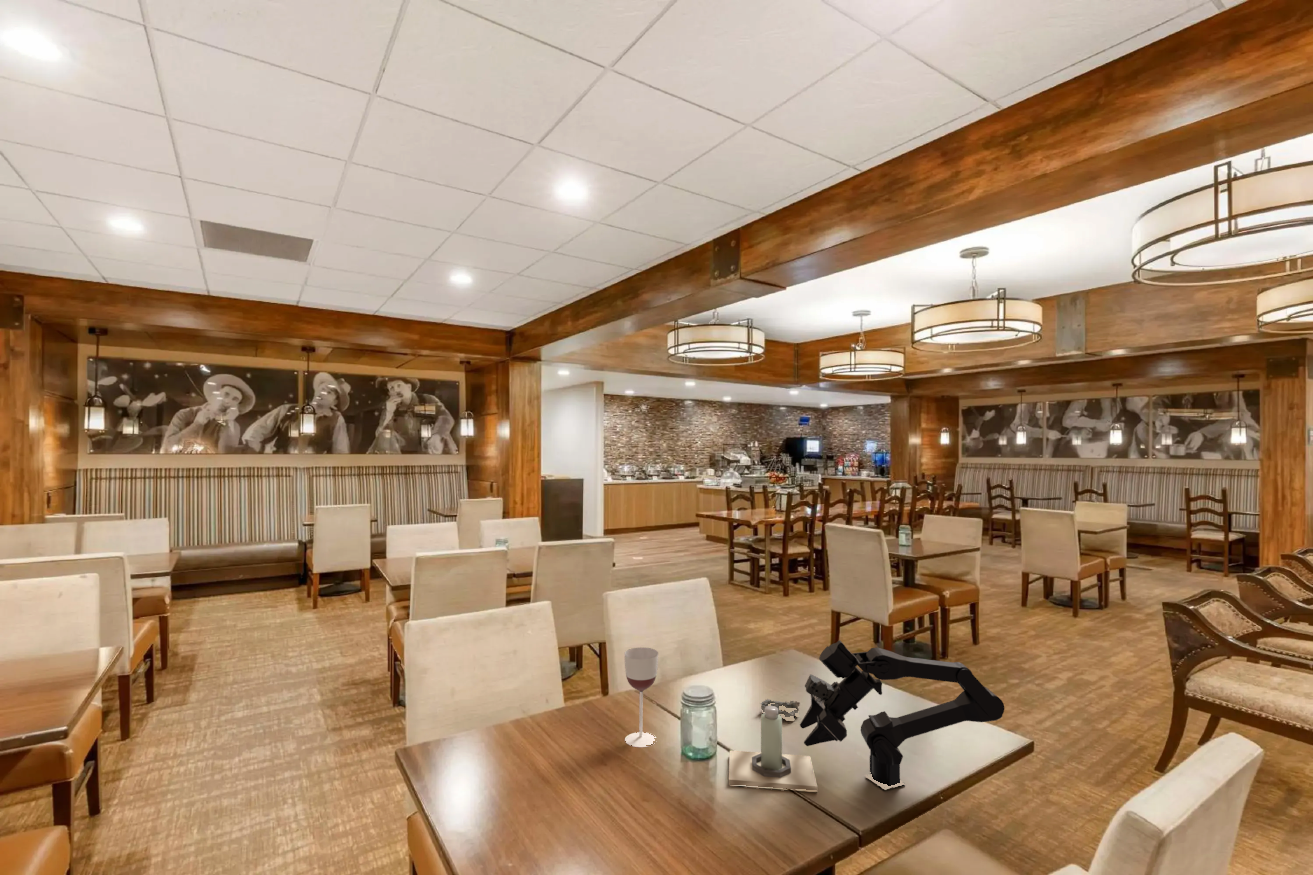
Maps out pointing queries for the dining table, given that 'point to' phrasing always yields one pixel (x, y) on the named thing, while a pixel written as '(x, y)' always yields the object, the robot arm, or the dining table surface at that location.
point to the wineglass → (641, 686)
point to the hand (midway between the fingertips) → (803, 735)
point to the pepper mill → (771, 739)
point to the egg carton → (778, 703)
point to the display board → (771, 771)
